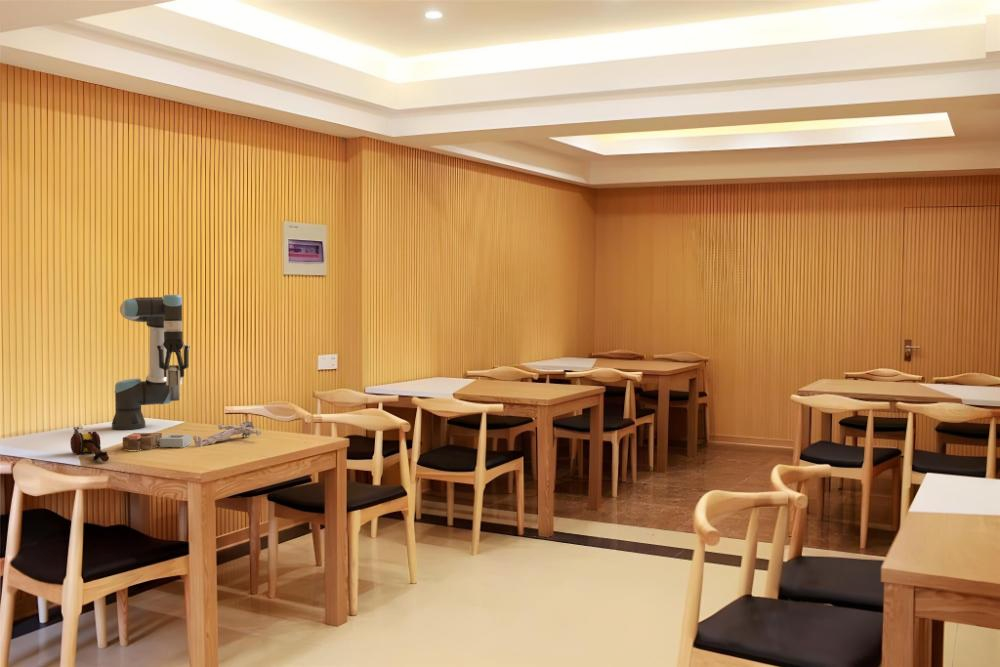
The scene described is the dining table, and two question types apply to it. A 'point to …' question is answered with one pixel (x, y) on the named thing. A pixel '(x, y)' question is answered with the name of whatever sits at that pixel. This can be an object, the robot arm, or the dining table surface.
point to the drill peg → (173, 382)
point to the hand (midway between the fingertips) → (174, 384)
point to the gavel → (87, 444)
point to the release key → (135, 437)
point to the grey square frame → (175, 441)
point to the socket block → (142, 441)
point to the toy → (227, 433)
